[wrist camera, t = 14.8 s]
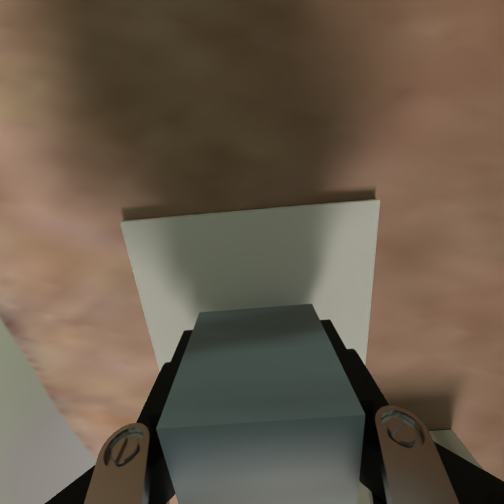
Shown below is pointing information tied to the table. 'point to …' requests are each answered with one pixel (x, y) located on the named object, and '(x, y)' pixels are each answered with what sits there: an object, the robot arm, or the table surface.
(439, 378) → the table surface
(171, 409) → the block
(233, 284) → the mat
